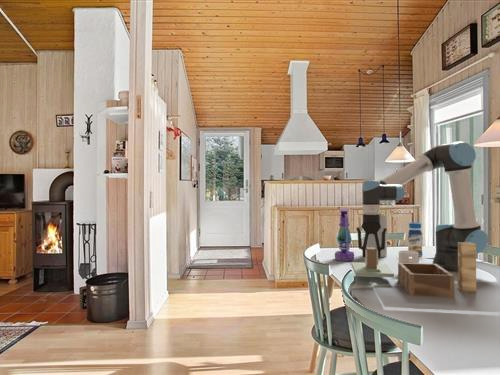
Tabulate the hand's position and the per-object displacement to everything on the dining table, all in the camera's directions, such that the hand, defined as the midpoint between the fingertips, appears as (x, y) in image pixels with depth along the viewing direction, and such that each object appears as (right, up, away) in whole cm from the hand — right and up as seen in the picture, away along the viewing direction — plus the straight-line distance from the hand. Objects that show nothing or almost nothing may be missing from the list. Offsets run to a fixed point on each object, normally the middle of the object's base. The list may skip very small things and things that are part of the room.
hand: (371, 264), depth 172 cm
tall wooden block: (+32, -7, -21) cm, 39 cm away
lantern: (0, -7, +48) cm, 48 cm away
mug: (+21, -7, +8) cm, 24 cm away
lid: (0, -3, +1) cm, 3 cm away
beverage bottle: (+47, -7, +60) cm, 76 cm away
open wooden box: (+16, -7, -17) cm, 25 cm away
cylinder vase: (+22, -7, +59) cm, 63 cm away
